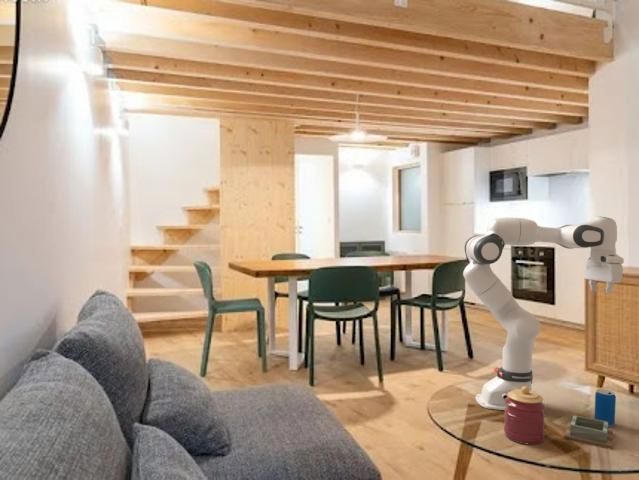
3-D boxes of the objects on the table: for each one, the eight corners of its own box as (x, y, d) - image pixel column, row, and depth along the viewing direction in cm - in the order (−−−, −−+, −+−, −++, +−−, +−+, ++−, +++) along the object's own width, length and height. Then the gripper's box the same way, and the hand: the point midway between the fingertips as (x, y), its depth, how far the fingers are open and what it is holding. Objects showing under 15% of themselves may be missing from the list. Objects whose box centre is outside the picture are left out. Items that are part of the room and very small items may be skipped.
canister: (507, 425, 179) (508, 377, 178) (546, 434, 172) (548, 384, 172) (500, 439, 168) (501, 388, 167) (541, 448, 161) (543, 395, 160)
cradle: (611, 449, 162) (612, 435, 161) (564, 438, 169) (564, 425, 169) (613, 433, 173) (613, 421, 173) (568, 424, 181) (569, 412, 181)
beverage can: (614, 429, 177) (615, 396, 177) (593, 424, 181) (595, 392, 180) (614, 422, 183) (616, 390, 182) (594, 418, 186) (596, 387, 186)
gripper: (580, 256, 207) (578, 289, 207) (610, 258, 186) (608, 294, 186) (595, 257, 207) (593, 290, 207) (626, 259, 186) (624, 295, 186)
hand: (600, 292), depth 196 cm, fingers open, 8 cm apart
